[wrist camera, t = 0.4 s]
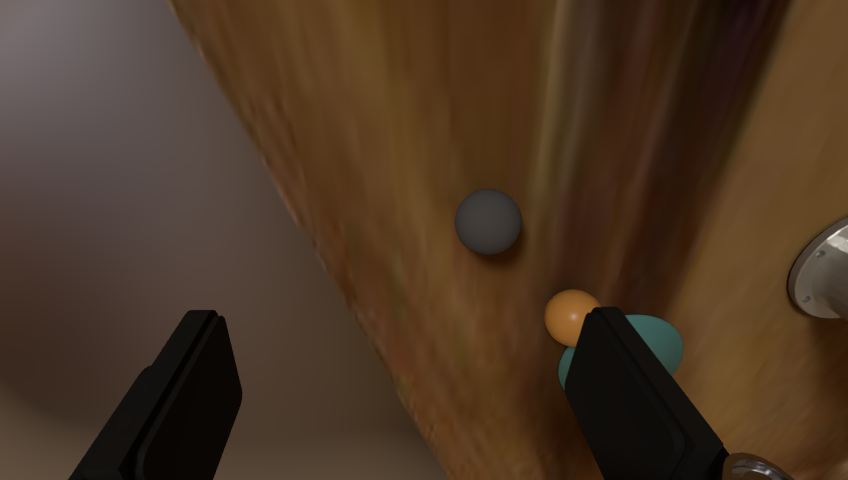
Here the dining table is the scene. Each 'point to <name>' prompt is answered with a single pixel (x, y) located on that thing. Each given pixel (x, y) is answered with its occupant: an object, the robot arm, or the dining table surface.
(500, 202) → the dark grey ball
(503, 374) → the dining table surface
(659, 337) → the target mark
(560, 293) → the object ball
